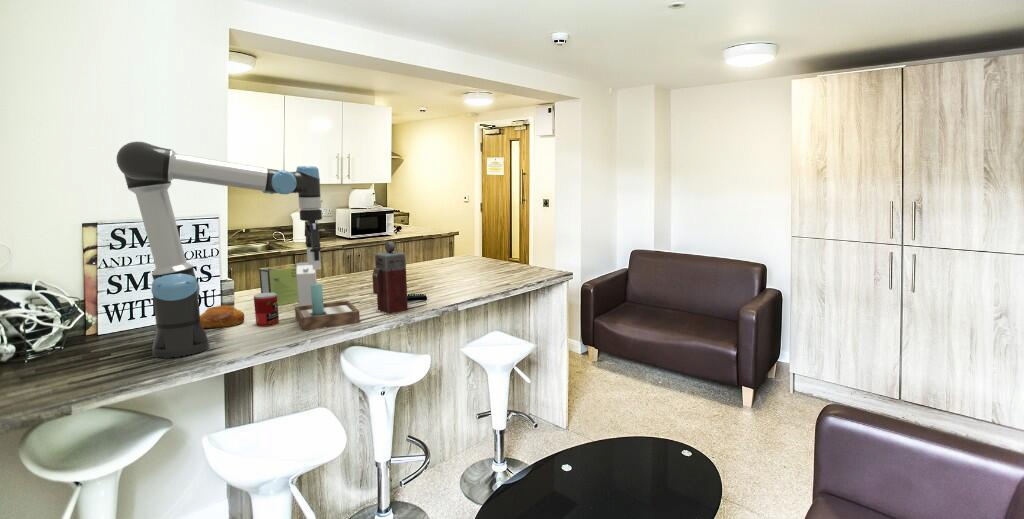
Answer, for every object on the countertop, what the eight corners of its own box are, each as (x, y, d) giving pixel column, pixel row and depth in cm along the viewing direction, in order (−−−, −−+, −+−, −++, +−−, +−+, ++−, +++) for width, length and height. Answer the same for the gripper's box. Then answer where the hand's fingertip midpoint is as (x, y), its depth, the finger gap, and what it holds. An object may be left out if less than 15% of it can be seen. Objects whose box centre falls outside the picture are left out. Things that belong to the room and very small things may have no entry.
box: (302, 330, 186) (301, 318, 185) (295, 318, 203) (294, 306, 202) (359, 322, 195) (359, 311, 194) (348, 311, 212) (348, 300, 212)
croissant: (240, 332, 192) (242, 311, 191) (192, 331, 188) (193, 309, 187) (248, 321, 206) (249, 301, 205) (203, 319, 201) (204, 299, 200)
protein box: (306, 300, 234) (304, 265, 231) (271, 306, 222) (268, 270, 220) (295, 297, 240) (293, 263, 238) (261, 303, 229) (258, 268, 227)
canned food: (270, 326, 191) (268, 297, 190) (251, 326, 193) (248, 296, 191) (283, 321, 199) (281, 292, 197) (264, 320, 200) (262, 292, 199)
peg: (314, 323, 195) (311, 286, 193) (312, 321, 198) (309, 284, 196) (325, 322, 197) (322, 285, 195) (323, 319, 200) (321, 283, 198)
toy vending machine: (372, 310, 213) (368, 242, 209) (396, 306, 220) (393, 239, 216) (383, 314, 206) (379, 243, 202) (408, 309, 214) (405, 241, 210)
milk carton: (300, 306, 223) (297, 261, 220) (318, 304, 225) (315, 260, 222) (299, 310, 216) (295, 264, 213) (317, 308, 218) (314, 263, 215)
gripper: (327, 210, 182) (330, 270, 186) (316, 207, 204) (319, 261, 207) (303, 211, 179) (308, 272, 182) (295, 208, 201) (299, 263, 204)
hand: (314, 267), depth 195 cm, fingers open, 13 cm apart
